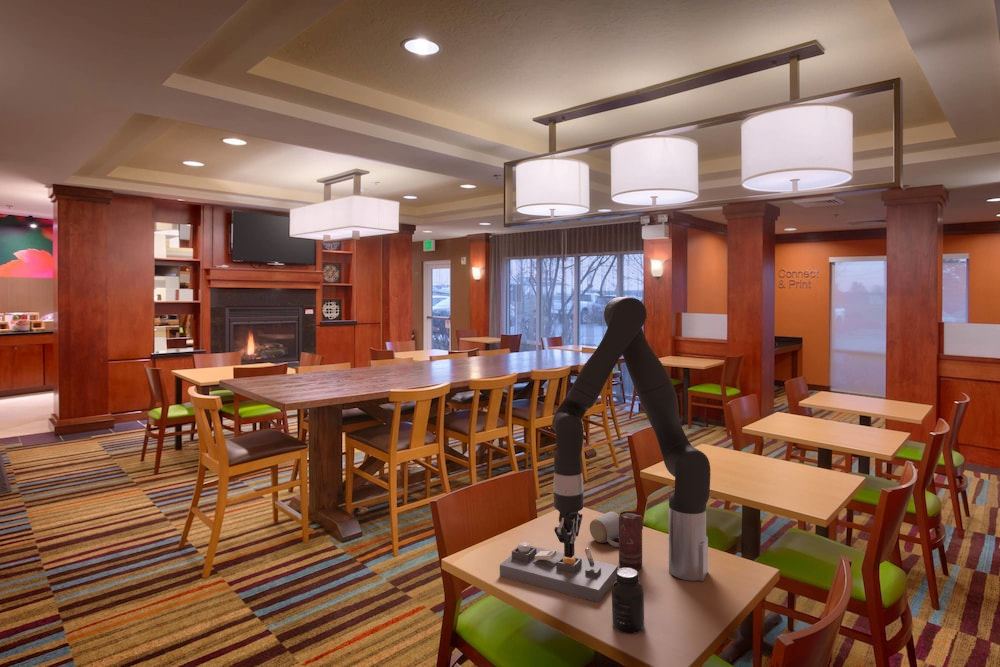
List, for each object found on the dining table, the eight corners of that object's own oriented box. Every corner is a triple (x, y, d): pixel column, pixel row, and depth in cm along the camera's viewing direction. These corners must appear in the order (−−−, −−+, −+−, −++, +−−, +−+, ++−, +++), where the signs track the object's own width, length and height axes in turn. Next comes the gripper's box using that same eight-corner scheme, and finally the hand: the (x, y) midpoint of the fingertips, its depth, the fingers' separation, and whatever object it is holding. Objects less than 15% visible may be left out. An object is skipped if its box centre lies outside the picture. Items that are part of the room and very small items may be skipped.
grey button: (532, 550, 150) (532, 543, 150) (526, 555, 147) (526, 548, 147) (521, 548, 152) (521, 541, 152) (516, 552, 149) (515, 545, 149)
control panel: (617, 577, 144) (617, 558, 144) (598, 602, 132) (598, 581, 132) (525, 555, 158) (524, 537, 157) (499, 575, 146) (499, 557, 145)
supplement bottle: (621, 613, 127) (620, 561, 126) (649, 624, 123) (649, 570, 122) (606, 627, 122) (606, 573, 121) (635, 638, 117) (635, 582, 117)
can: (643, 571, 147) (643, 519, 146) (619, 569, 148) (618, 517, 147) (642, 561, 153) (642, 511, 152) (618, 559, 154) (618, 509, 153)
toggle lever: (595, 565, 140) (589, 546, 141) (594, 567, 139) (587, 548, 140) (591, 566, 141) (585, 547, 141) (589, 568, 140) (583, 549, 140)
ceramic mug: (587, 539, 168) (587, 514, 167) (606, 532, 173) (606, 508, 172) (614, 552, 159) (614, 525, 159) (633, 544, 164) (633, 518, 164)
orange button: (577, 564, 144) (577, 557, 144) (572, 569, 141) (572, 562, 141) (565, 561, 145) (565, 555, 145) (560, 566, 143) (560, 559, 142)
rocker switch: (556, 554, 147) (555, 550, 147) (551, 559, 144) (550, 555, 144) (540, 554, 149) (539, 550, 149) (535, 559, 146) (534, 555, 146)
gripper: (571, 499, 135) (572, 570, 135) (591, 484, 146) (592, 549, 147) (543, 495, 138) (544, 563, 139) (565, 480, 150) (566, 543, 151)
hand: (569, 556), depth 143 cm, fingers closed
